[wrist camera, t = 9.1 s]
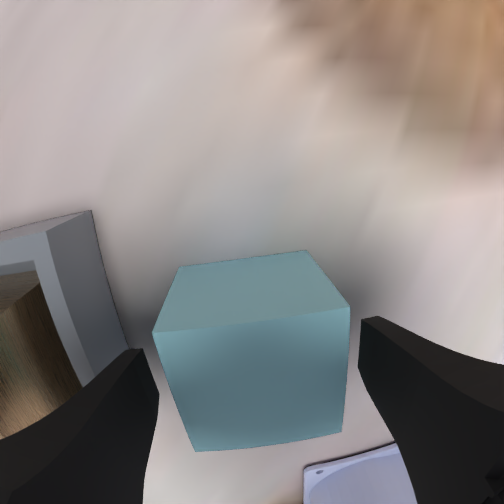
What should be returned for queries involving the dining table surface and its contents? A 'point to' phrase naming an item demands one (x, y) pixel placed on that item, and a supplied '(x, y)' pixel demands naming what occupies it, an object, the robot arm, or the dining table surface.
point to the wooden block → (30, 356)
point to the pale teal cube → (255, 351)
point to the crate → (70, 287)
